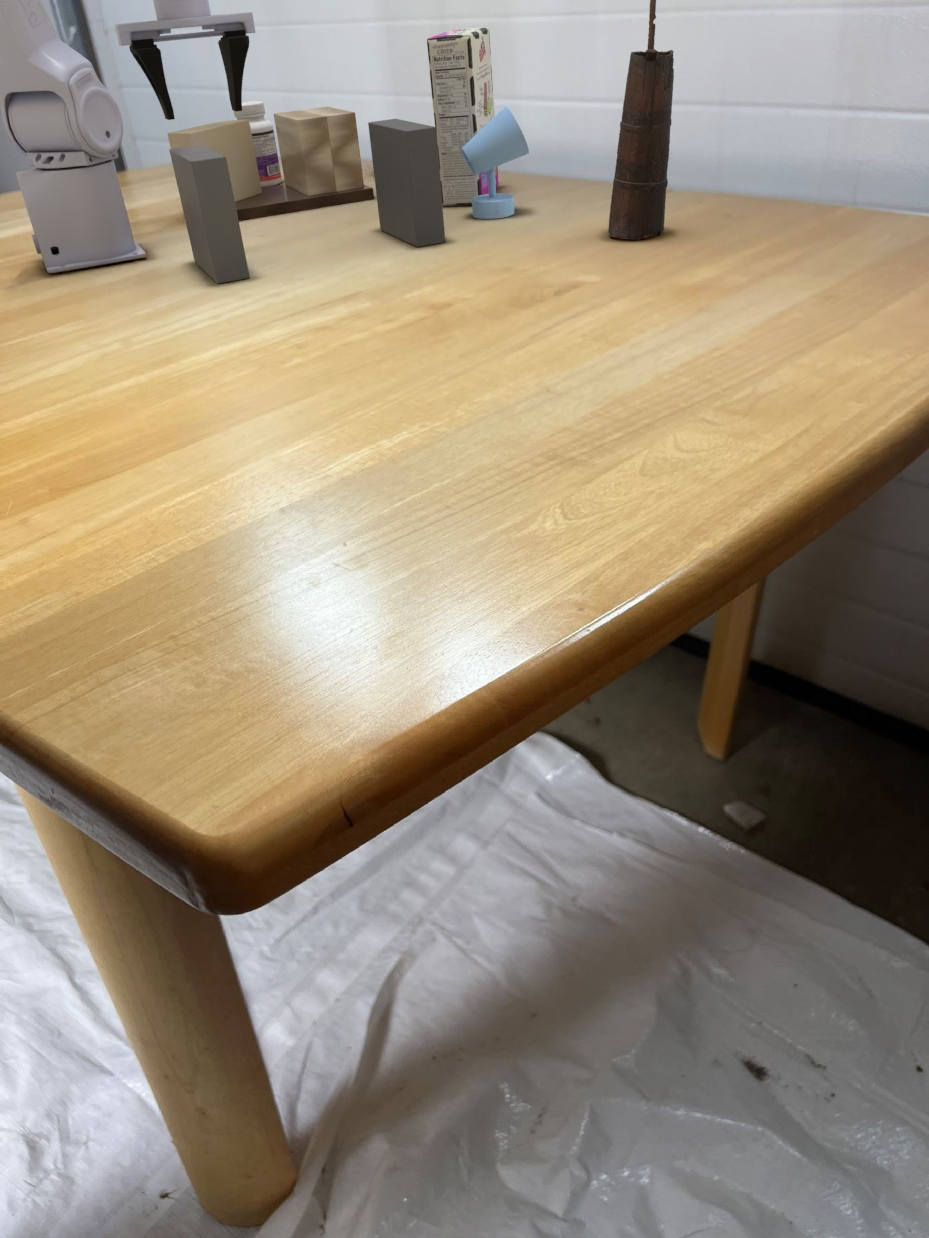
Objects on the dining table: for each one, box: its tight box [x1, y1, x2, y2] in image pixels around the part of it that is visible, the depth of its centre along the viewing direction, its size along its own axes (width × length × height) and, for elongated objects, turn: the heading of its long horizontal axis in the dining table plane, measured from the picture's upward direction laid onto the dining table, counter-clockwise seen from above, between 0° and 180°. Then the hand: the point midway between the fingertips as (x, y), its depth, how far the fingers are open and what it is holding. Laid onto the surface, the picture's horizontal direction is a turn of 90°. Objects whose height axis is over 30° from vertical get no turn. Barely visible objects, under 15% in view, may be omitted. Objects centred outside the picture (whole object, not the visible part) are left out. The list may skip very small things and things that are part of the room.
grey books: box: [169, 118, 446, 285], centre depth 87 cm, size 22×10×10 cm, turn 115°
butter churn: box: [607, 0, 675, 240], centre depth 78 cm, size 9×10×28 cm
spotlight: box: [461, 105, 530, 220], centre depth 96 cm, size 5×10×7 cm
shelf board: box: [235, 106, 375, 221], centre depth 110 cm, size 20×12×9 cm, turn 115°
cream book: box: [166, 119, 262, 202], centre depth 108 cm, size 4×10×8 cm, turn 151°
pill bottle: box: [233, 100, 283, 188], centre depth 123 cm, size 5×5×10 cm
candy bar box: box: [426, 26, 500, 207], centre depth 103 cm, size 11×5×16 cm, turn 168°
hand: (204, 115), depth 105 cm, fingers open, 7 cm apart
